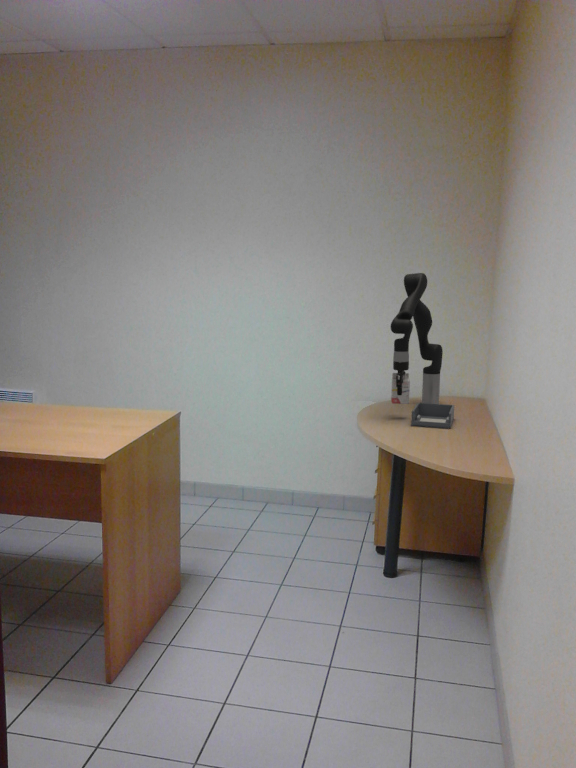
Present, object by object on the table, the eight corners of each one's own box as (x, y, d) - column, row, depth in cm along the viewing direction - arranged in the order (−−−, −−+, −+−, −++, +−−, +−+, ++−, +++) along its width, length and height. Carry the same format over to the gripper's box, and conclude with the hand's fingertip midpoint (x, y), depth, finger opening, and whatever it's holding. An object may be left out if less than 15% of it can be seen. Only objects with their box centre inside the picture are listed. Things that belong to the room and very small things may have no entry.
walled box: (417, 416, 327) (417, 402, 326) (453, 418, 321) (454, 405, 320) (411, 426, 306) (411, 411, 305) (450, 428, 301) (450, 414, 300)
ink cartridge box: (391, 403, 320) (392, 374, 317) (391, 401, 325) (391, 372, 322) (409, 404, 319) (410, 374, 316) (408, 401, 324) (409, 372, 321)
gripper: (395, 357, 326) (395, 390, 329) (391, 362, 312) (390, 396, 315) (410, 358, 323) (410, 391, 327) (406, 362, 310) (406, 397, 313)
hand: (400, 393), depth 321 cm, fingers closed on ink cartridge box, 5 cm apart
